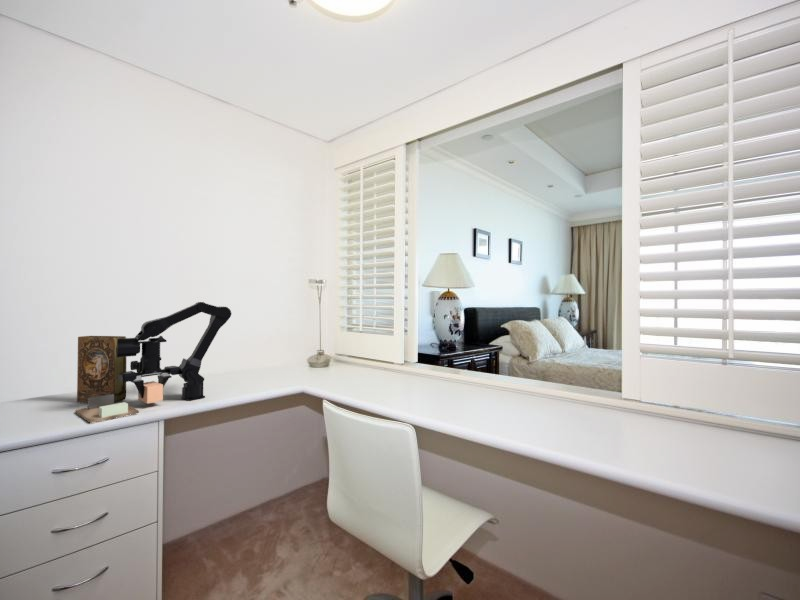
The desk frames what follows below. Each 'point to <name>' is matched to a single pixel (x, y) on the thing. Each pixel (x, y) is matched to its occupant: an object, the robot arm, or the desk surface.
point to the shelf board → (93, 414)
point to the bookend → (100, 401)
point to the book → (99, 368)
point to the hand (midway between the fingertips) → (150, 396)
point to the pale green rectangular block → (113, 409)
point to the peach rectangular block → (152, 392)
